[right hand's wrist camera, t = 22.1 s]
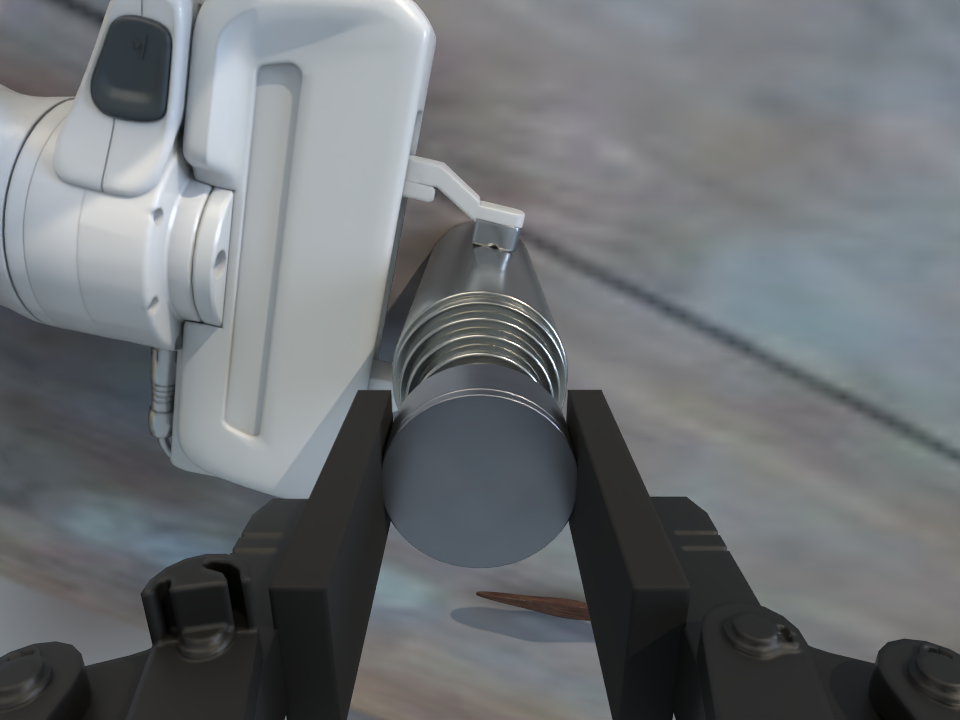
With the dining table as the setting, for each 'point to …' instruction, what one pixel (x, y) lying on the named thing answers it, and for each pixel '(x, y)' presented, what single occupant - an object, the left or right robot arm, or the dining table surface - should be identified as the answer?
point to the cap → (479, 467)
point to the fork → (543, 604)
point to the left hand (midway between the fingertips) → (501, 308)
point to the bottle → (478, 317)
